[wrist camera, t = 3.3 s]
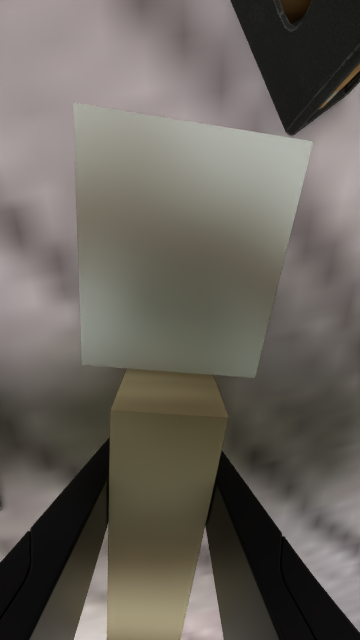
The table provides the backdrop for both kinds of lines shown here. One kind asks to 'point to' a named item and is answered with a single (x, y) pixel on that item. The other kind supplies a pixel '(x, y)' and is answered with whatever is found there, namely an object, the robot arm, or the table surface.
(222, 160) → the turner
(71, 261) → the table surface
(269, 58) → the ammunition clip
